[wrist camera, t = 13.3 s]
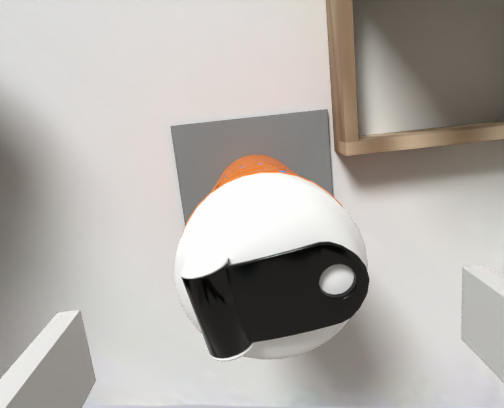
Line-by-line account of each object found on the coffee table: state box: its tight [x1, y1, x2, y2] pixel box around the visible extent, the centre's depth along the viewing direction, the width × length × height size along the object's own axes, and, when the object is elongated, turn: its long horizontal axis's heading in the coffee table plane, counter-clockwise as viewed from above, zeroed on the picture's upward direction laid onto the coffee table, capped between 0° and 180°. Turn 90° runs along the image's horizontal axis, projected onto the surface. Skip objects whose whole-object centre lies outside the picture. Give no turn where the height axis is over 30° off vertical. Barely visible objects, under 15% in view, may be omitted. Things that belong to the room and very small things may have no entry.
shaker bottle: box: [174, 155, 369, 361], centre depth 26 cm, size 9×9×20 cm
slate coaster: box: [171, 109, 332, 226], centre depth 36 cm, size 13×13×1 cm
